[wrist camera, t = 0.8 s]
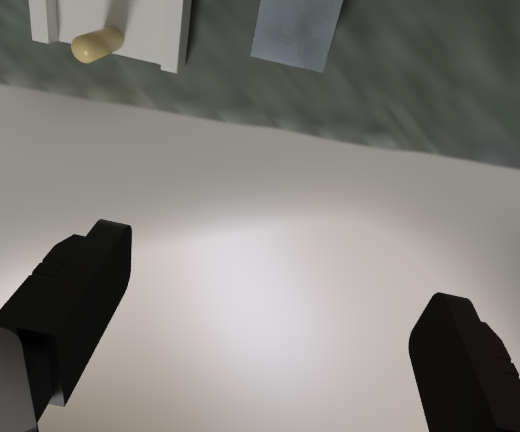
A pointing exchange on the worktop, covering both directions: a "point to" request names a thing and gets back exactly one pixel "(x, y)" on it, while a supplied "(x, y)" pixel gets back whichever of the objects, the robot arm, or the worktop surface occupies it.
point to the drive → (296, 31)
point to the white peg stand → (116, 28)
